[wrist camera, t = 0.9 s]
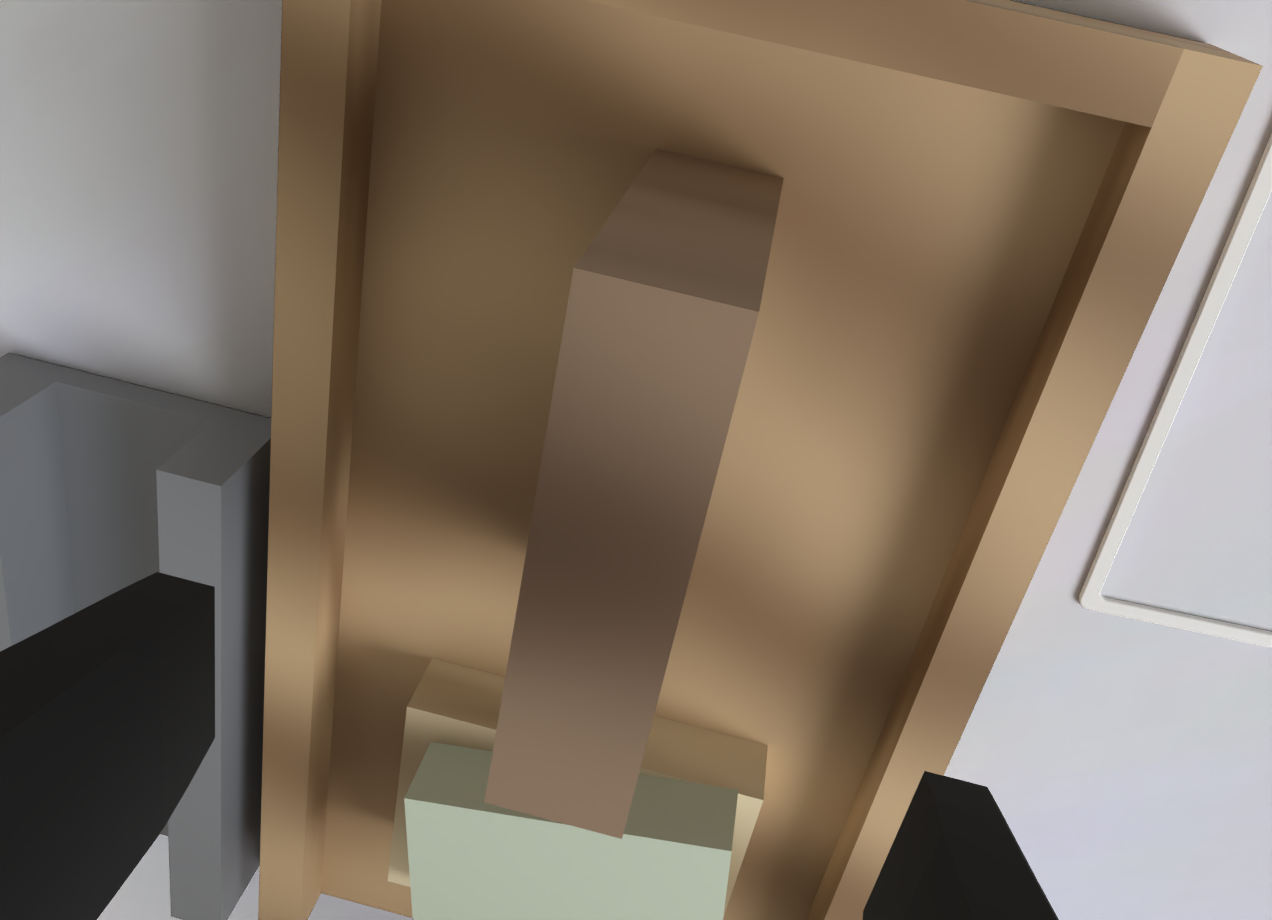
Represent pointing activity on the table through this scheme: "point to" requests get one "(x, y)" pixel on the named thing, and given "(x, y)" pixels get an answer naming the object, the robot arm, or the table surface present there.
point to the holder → (148, 567)
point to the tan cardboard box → (627, 481)
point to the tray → (770, 387)
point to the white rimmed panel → (1265, 180)
